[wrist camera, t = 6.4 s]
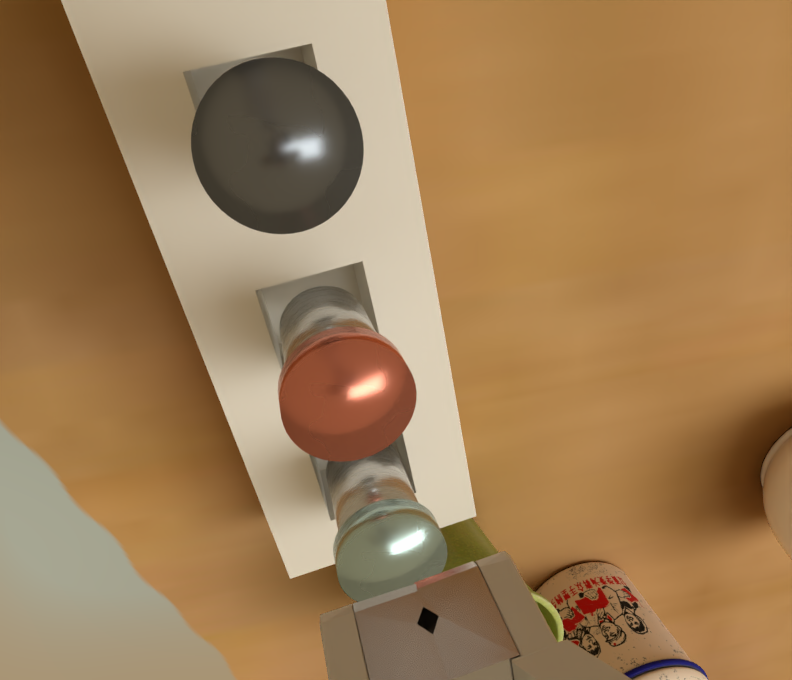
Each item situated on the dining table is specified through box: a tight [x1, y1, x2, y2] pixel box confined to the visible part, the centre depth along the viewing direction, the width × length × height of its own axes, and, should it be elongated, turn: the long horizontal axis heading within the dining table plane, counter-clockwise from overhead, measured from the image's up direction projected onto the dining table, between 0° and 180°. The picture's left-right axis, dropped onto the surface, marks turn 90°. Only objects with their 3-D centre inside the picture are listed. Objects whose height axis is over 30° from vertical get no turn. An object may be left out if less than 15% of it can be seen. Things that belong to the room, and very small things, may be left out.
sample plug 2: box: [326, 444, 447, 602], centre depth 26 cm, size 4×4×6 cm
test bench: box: [61, 0, 476, 579], centre depth 27 cm, size 26×10×5 cm, turn 11°
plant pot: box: [440, 518, 564, 642], centre depth 35 cm, size 9×9×9 cm
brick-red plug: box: [278, 286, 417, 462], centre depth 22 cm, size 4×4×6 cm
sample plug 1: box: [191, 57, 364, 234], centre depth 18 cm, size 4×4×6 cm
